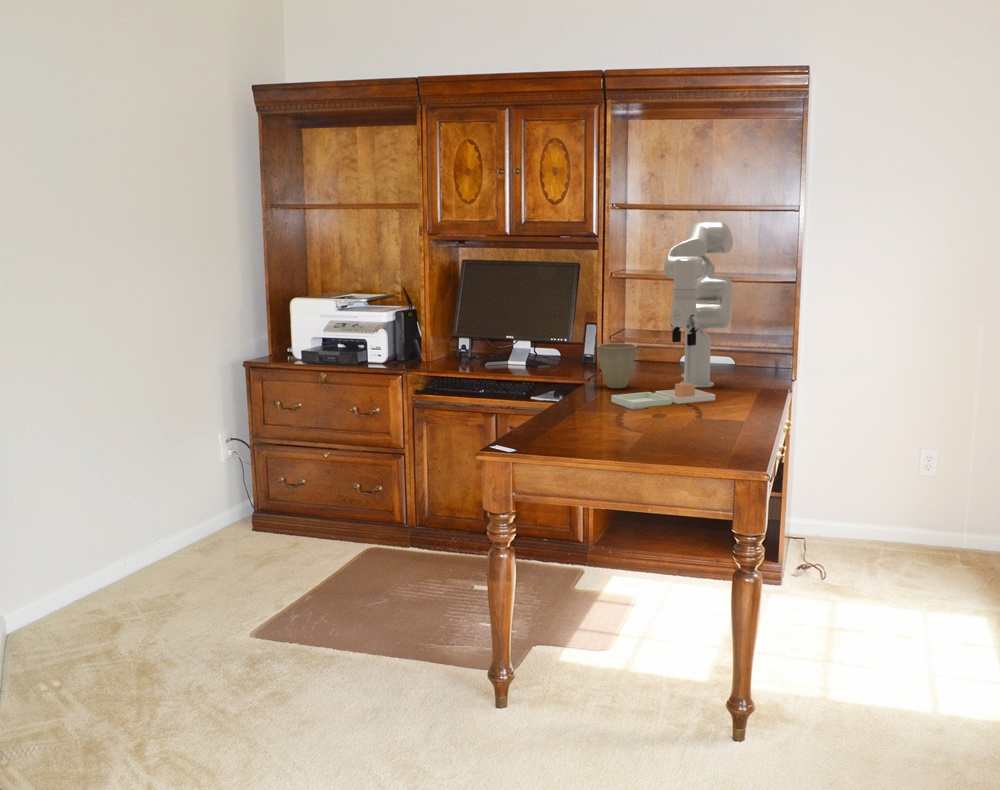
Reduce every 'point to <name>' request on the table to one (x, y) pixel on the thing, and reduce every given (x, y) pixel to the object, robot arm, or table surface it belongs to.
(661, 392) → the white tray
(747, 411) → the table surface
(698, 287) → the robot arm
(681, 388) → the brown cube
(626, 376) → the plant pot
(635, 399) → the green tray
